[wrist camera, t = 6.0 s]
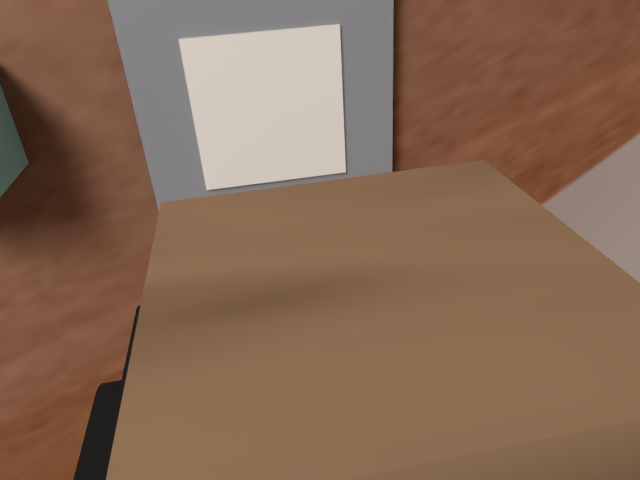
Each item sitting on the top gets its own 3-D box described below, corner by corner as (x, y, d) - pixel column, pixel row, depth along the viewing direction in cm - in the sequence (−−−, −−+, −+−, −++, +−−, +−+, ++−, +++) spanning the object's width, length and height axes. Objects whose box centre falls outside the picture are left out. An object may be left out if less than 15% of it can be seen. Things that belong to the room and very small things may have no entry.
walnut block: (461, 388, 13) (626, 682, 8) (216, 434, 12) (220, 793, 7) (484, 159, 10) (776, 391, 5) (161, 202, 9) (96, 528, 4)
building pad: (386, 216, 30) (392, 226, 29) (170, 246, 28) (169, 258, 27) (387, -72, 23) (395, -72, 22) (100, -51, 21) (94, -51, 20)
